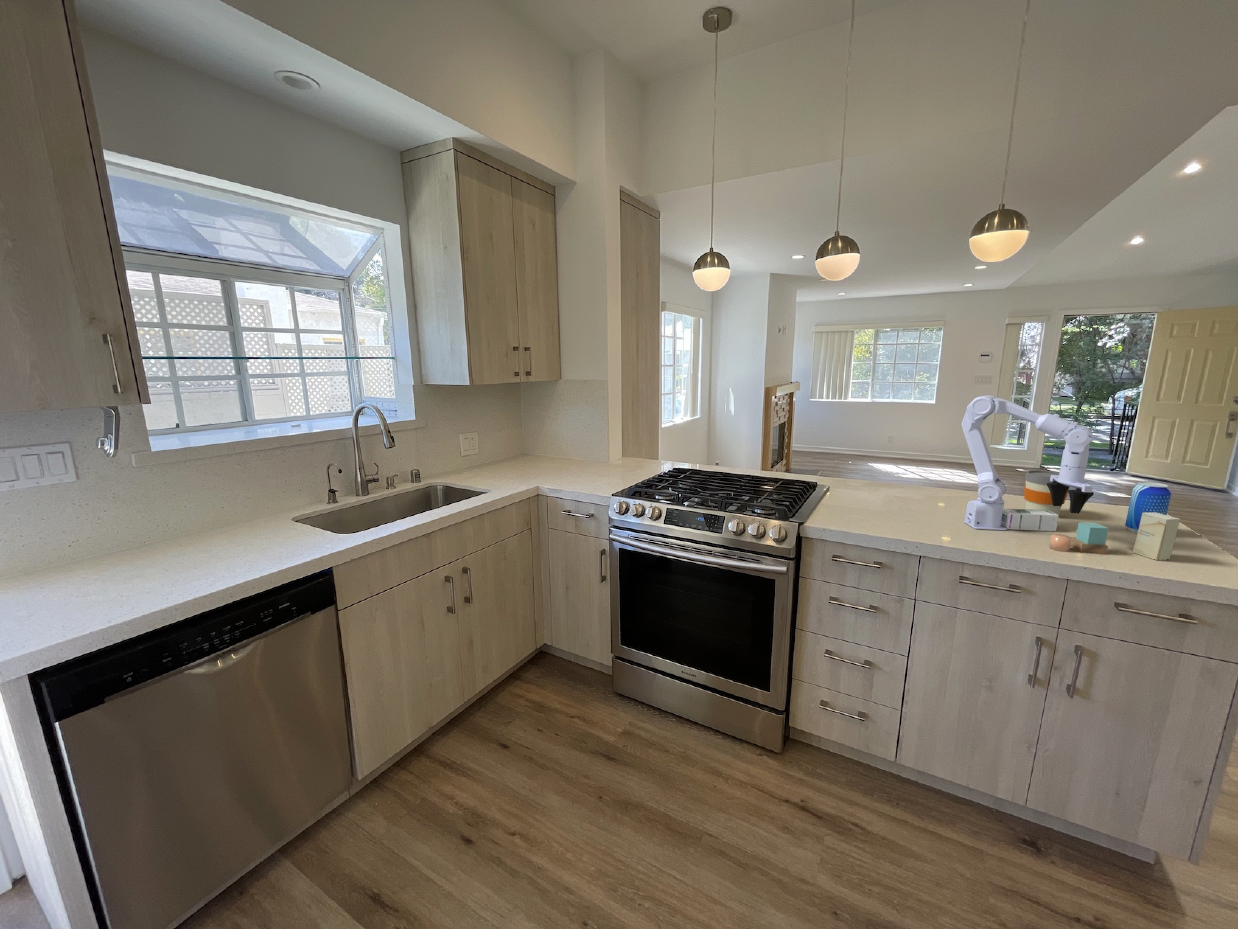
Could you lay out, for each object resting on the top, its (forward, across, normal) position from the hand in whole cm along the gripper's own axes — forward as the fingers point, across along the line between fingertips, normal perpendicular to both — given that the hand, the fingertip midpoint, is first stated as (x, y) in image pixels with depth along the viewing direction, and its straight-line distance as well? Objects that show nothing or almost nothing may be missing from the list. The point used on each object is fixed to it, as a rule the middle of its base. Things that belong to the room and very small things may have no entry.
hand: (1065, 509), depth 150 cm
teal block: (+7, -8, -2) cm, 11 cm away
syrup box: (+7, +11, -4) cm, 14 cm away
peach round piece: (+10, -8, +6) cm, 14 cm away
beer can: (+10, +12, -31) cm, 35 cm away
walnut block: (+10, -8, -2) cm, 13 cm away
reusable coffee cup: (+10, +29, -12) cm, 33 cm away
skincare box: (+10, -11, -16) cm, 22 cm away
